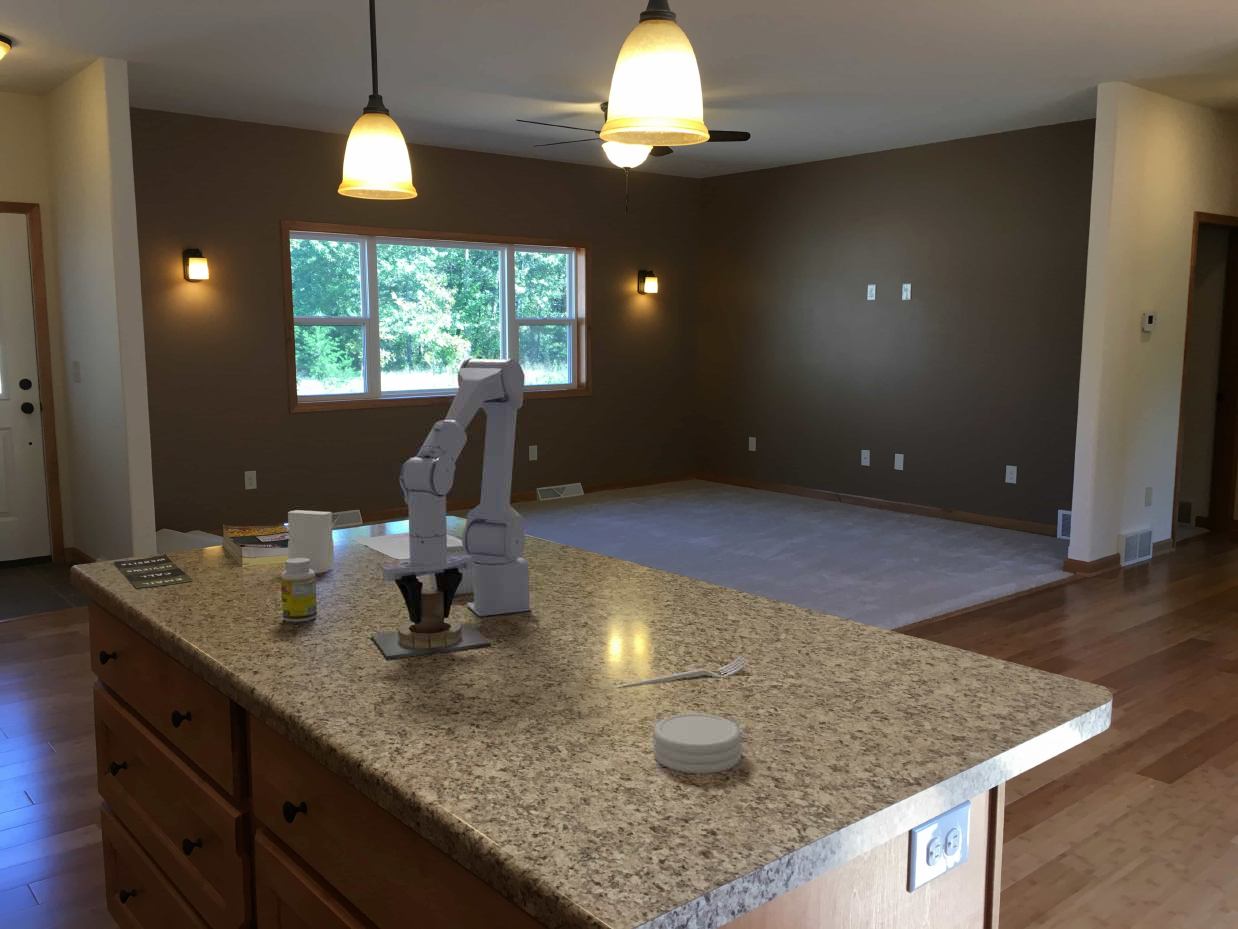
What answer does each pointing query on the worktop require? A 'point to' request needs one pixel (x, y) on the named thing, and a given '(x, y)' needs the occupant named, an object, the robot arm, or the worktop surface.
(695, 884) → the worktop surface
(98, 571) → the worktop surface
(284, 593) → the supplement bottle
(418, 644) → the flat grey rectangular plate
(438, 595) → the walnut peg
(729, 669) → the fork
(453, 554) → the ramekin
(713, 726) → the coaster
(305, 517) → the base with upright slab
